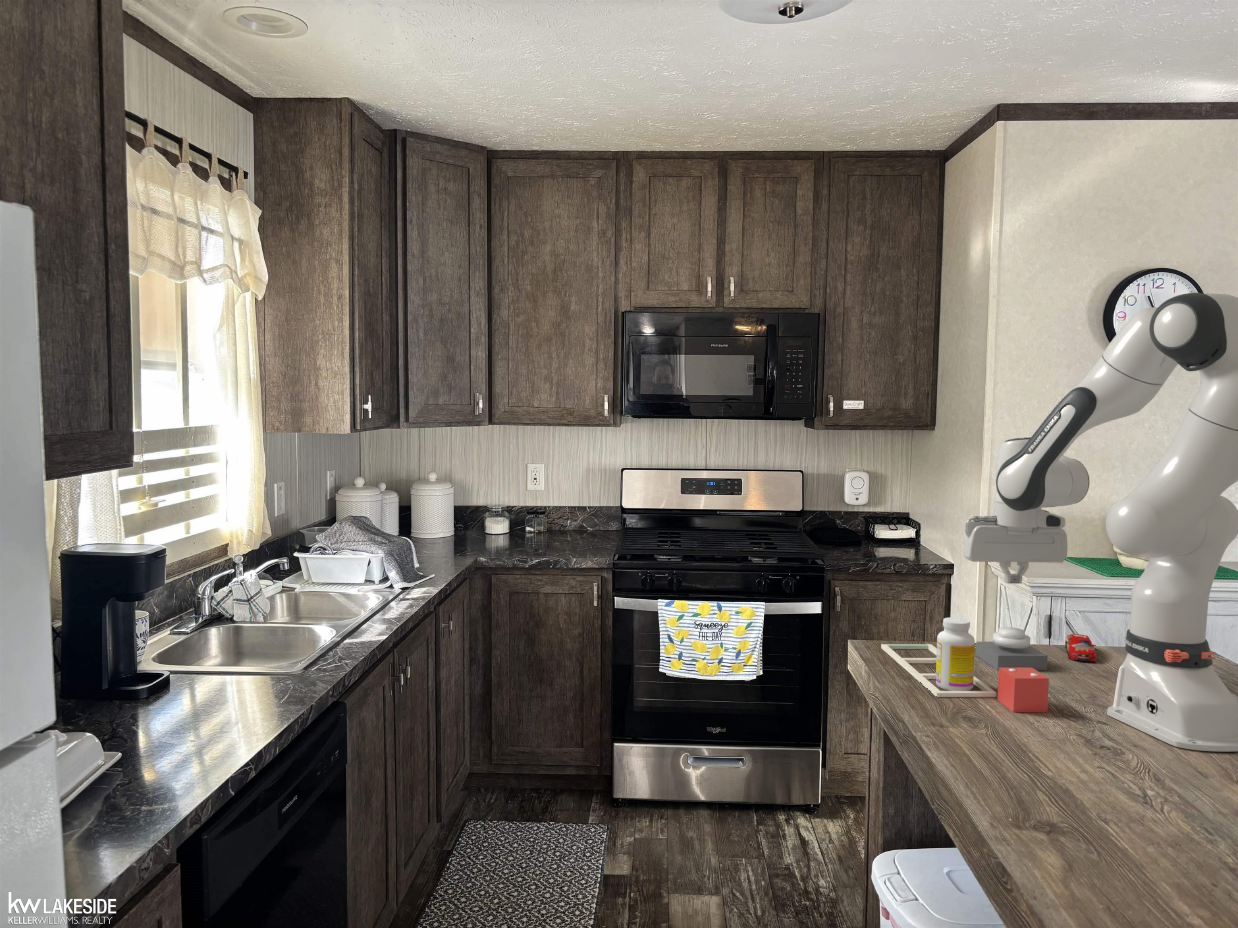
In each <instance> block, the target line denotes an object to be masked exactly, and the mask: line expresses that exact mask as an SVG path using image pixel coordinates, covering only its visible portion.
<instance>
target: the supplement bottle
mask: <svg viewBox="0 0 1238 928" xmlns="http://www.w3.org/2000/svg"><path fill="white" fill-rule="evenodd" d="M942 626H943V631H942V630H941V631H940V632H939V633H937V636H936V638H937V639H936V648H937V655H936V658H937V661H936V663H935V664H936V665H935V666H936V668H935V669H936V670H935V674H936V679H935V684H936V686H937V687H938V688H941V689H942V690H944V691H972V690H973V688H974V684H973V682H974V675H975V672H974V671H975V652H976V646H975V645H976V640H975V638H974V636H973V635H972V634H971V633H969V630H970V628H971V627H970V626H971V622H970V620H969V619H966V618H962V617H954V616H953V617H945V618H943V621H942Z"/></svg>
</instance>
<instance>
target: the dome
mask: <svg viewBox="0 0 1238 928" xmlns="http://www.w3.org/2000/svg"><path fill="white" fill-rule="evenodd" d="M992 642H993V643H994V644H996V645H999V646H1002V647H1007V648H1016V649H1023V648H1028V647H1030V646H1031V637H1030V636H1029V635H1026V630H1024V629H1021V628H1017V627H1011V626H1002V627H999V628H998V631H995V632H993V633H992Z"/></svg>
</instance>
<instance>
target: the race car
mask: <svg viewBox="0 0 1238 928" xmlns="http://www.w3.org/2000/svg"><path fill="white" fill-rule="evenodd" d="M1096 646H1097V645H1096V644H1093V643H1092V641H1091V639H1090V637H1089V636H1088V635H1086V634H1085V635H1084V634H1077V633H1071V634H1067V636H1066V639H1065V646H1064V647H1065V651H1066V654H1067V656H1068V658H1067V659H1068V660H1074V661H1081V662H1093V663H1096V662H1097V652H1096V650H1095V647H1096Z"/></svg>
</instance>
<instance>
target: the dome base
mask: <svg viewBox="0 0 1238 928" xmlns="http://www.w3.org/2000/svg"><path fill="white" fill-rule="evenodd" d="M975 645H976V646H975V656H976V657H978V658H979V659H981V660H982V661H983V662H984V663H986V664H988V665H990V666H991V667H992V668H994V669H995V670H997V671H999V668H1033V669H1035V670H1036V671H1047V670H1048V655H1047V654H1045V653H1043V651H1040V650H1039V649H1037V648H1035V647H1034V646H1031V645H1030V647H1028V648H1023V649H1016V648H1007V647H1002V646H999V645H996V644H994V643H993V641H975Z"/></svg>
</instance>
